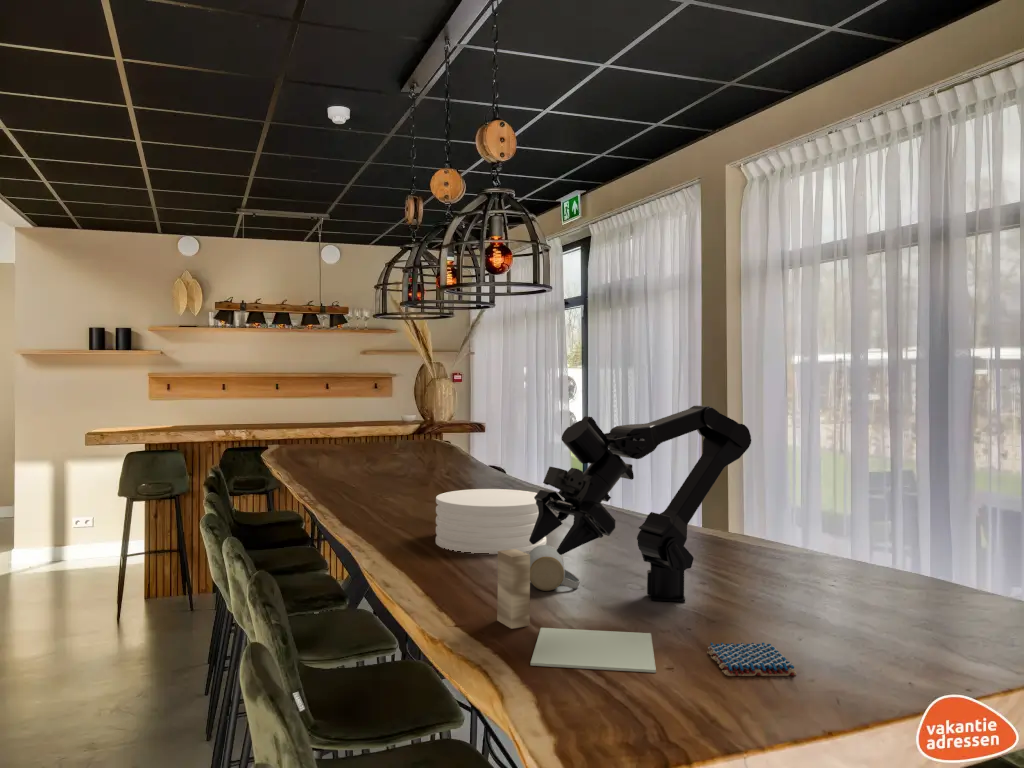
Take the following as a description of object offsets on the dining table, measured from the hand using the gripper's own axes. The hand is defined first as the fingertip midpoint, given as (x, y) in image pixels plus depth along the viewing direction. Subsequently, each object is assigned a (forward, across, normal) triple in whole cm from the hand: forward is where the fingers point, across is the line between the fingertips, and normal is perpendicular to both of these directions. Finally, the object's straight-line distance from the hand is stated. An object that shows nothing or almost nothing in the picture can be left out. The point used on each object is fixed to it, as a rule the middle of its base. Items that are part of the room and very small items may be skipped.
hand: (544, 547), depth 137 cm
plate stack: (-6, -60, +24) cm, 64 cm away
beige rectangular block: (+13, 0, +4) cm, 14 cm away
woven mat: (-2, +32, +20) cm, 38 cm away
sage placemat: (+10, +17, +8) cm, 21 cm away
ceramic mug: (0, -17, +17) cm, 24 cm away
